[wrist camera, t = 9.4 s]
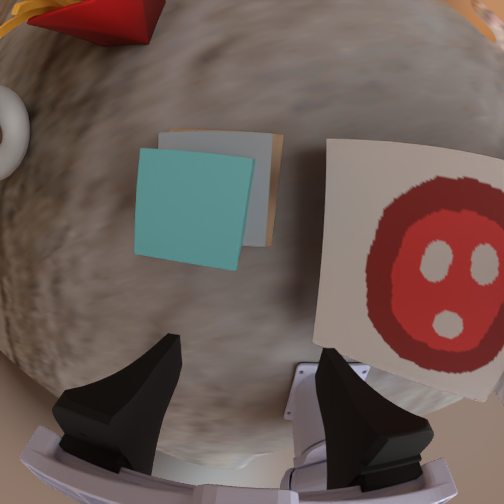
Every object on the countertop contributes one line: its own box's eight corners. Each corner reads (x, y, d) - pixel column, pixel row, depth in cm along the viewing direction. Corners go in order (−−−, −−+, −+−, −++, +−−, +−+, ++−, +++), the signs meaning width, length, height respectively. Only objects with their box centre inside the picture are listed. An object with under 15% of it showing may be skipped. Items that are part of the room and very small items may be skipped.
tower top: (265, 236, 20) (265, 247, 17) (170, 230, 20) (158, 240, 17) (271, 137, 17) (272, 133, 15) (171, 135, 18) (158, 132, 15)
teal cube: (243, 239, 17) (236, 270, 13) (166, 228, 17) (134, 253, 12) (255, 159, 16) (252, 158, 11) (174, 150, 16) (140, 147, 11)
